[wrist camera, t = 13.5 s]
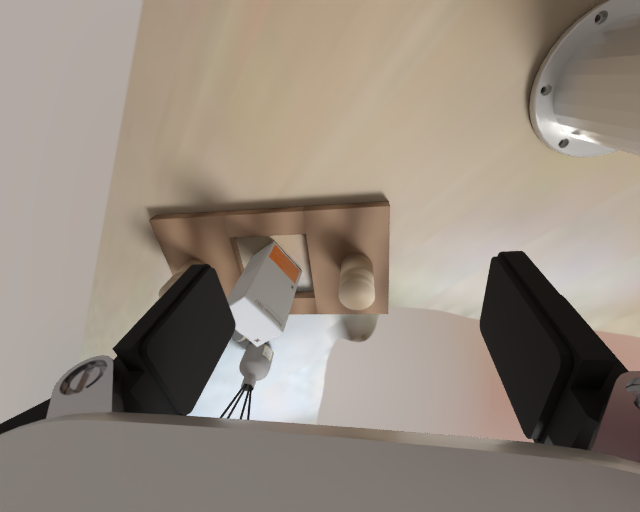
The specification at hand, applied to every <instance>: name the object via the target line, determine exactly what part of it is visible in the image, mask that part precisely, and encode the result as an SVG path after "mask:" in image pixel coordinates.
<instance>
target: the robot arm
mask: <svg viewBox="0 0 640 512" xmlns="http://www.w3.org/2000/svg"><path fill="white" fill-rule="evenodd" d="M595 17H597V19H596V21H595ZM542 87H543V88H544V89H543V91H542V92H541V89H542ZM529 110H530V119H531V123H532V126H533V129H534V131H535V133H536V135H537V136H538V137H539V139H540V140H541V141H542V142H543V143H544V144H545V145H546V146H548V147H549V148H551V149H553V150H555V151H557V152H559V153H562V154H565V155H568V156H574V157H595V156H600V155H605V154H609V153H612V152H615V151H618V150H620V151H624V152H627V153H631V154H634V155H638V156H640V0H607V1H605V2H603V3H601V4H600V5H598V6H596V7H594V8H593V9H592V10H590V11H589V12H587V13H586V14H585V15H583V16H582V17H581V18H579V19H578V20H577V21H576V22H575V23H574V24H573V25H572V26H571V27H569V28H568V29H567V30H566V31H565V32H564V33H563V34H562V36H561V37H560V38H559V39H558V41H557V42H556V43H555V44H554V45H553V47H552V48H551V49H550V51H549V53H548V54H547V56H546V57H545V59H544V61H543V62H542V64H541V66H540V68H539V71H538V73H537V75H536V77H535V80H534V83H533V87H532V91H531V95H530V106H529ZM560 141H561V142H560ZM559 142H560V143H559ZM235 327H236V323H235V319H234V317H233V314H232V312H231V309H230V306H229V304H228V301H227V298H226V296H225V293H224V291H223V288H222V285H221V283H220V280H219V278H218V275H217V272H216V270H215V269H214V268H212V267H211V266H210V265H209V264H194V265H191V266H190V267H189V268H188V269H187V270H186V271H185V272H184V273H183V274H182V275H181V276H180V278H179V279H178V280H177V281H176V282H175V283H174V284H173V285H172V286H171V287H170V288H169V289H168V290H167V291H166V292H165V293H164V295H163V296H162V297H161V298H160V299H159V300H158V301H157V302H156V303H155V304H154V305H153V306H152V307H151V308H150V309H149V311H148V312H147V313H146V314H145V315H144V316H143V317H142V318H141V319H140V320H139V321H138V322H137V323H136V324H135V325H134V326H133V328H132V329H131V330H130V331H129V332H128V333H127V334H126V335H125V336H124V337H123V338H122V339H121V340H120V341H119V342H118V344H117V345H116V346H115V347H114V348H113V350H114V351H115V353H116V354H117V357H116V358H115V359H114V360H113V359H112V358H110V357H109V356H103V355H102V356H96V357H93V358H90V359H87V360H85V361H83V362H81V363H79V364H77V365H76V366H74V367H73V368H72V369H70V370H69V371H68V372H66V373H65V374H64V375H63V376H62V377H61V378H60V380H59V381H58V382H57V383H56V385H55V387H54V389H53V392H52V396H51V398H50V399H48V400H47V401H45V402H43V403H41V404H39V405H37V406H35V407H33V408H31V409H29V410H27V411H25V412H23V413H21V414H19V415H17V416H15V417H13V418H11V419H9V420H7V421H5V422H3V423H2V424H0V512H640V371H628V370H627V369H626V368H625V367H624V365H623V364H622V363H621V362H620V361H619V360H618V359H617V358H616V357H615V355H614V354H613V353H612V352H611V350H610V349H609V348H608V347H607V346H606V345H605V343H604V342H603V341H602V340H601V339H600V338H599V337H598V335H597V334H596V333H595V332H594V331H593V330H592V328H591V327H590V326H589V325H588V324H587V323H586V322H585V320H584V319H583V318H582V317H581V316H580V315H579V313H578V312H577V311H576V310H575V309H574V308H573V307H572V305H571V304H570V303H569V302H568V301H567V300H566V299H565V298H564V297H563V296H562V295H560V294H559V293H558V291H557V290H556V289H555V288H554V287H553V286H552V284H551V283H550V282H549V281H548V280H547V279H546V277H545V276H544V275H543V274H542V273H541V272H540V270H539V269H538V268H537V267H536V266H535V265H534V263H533V262H532V261H531V260H530V259H529V258H528V256H527V255H526V254H525V253H524V252H523V251H509V252H500V253H499V254H498V257H493V258H492V259H491V264H490V269H489V275H488V280H487V285H486V291H485V296H484V302H483V307H482V313H481V318H480V330H481V334H482V336H483V338H484V341H485V343H486V345H487V348H488V350H489V352H490V355H491V357H492V359H493V362H494V364H495V366H496V369H497V371H498V374H499V376H500V378H501V381H502V383H503V385H504V388H505V390H506V392H507V395H508V397H509V399H510V402H511V404H512V406H513V409H514V411H515V414H516V416H517V418H518V421H519V423H520V425H521V428H522V430H523V432H524V434H525V436H526V437H527V438H528V439H533V440H534V442H535V443H531V442H520V441H510V440H499V439H488V438H478V437H467V436H455V435H442V434H430V433H416V432H404V431H391V430H378V429H365V428H352V427H338V426H324V425H311V424H297V423H283V422H269V421H255V420H241V419H226V418H211V417H196V416H186V415H187V414H189V413H190V412H191V411H192V410H193V408H194V406H195V404H196V403H197V401H198V399H199V397H200V395H201V393H202V391H203V389H204V388H205V386H206V384H207V382H208V380H209V378H210V376H211V374H212V372H213V371H214V369H215V367H216V365H217V363H218V361H219V359H220V357H221V355H222V354H223V352H224V350H225V348H226V346H227V344H228V342H229V340H230V339H231V337H232V335H233V333H234V331H235Z"/></svg>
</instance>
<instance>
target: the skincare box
mask: <svg viewBox="0 0 640 512" xmlns="http://www.w3.org/2000/svg"><path fill="white" fill-rule="evenodd" d="M301 273H302V271H301V270H300V269H299V268H298V267H297V266H296V265H295V263H294V262H293V261H292V260H291V259H290V258H289V257H288V256H287V255H286V254H285V253H284V251H283V250H282V249H281V248H280V247H279V246H278V245H277V244H276V242H275V241H273V242H272V243H270V244H269V245H268V246H266V247H265V248H263V249H262V250H260V251H259V252H257V253H256V254H254V255H253V256H252V258H251V259H250V261H249V263H248V264H247V266H246V268H245V269H244V271H243V273H242V274H241V276H240V278H239V279H238V281H237V282H236V284H235V286H234V287H233V289H232V291H231V292H230V294H229V295H228V297H227V301H228V304H229V306H230V309H231V312H232V314H233V317H234V319H235V323H236V327H235V329H236V330H237V331H238V332H239V333H240V334H242V335H243V336H245V337H246V338H247V339H248V340H249V341H250V342H252V343H253V344H254V345H255V346H256V347H258V346H260V345H262V344H264V343H265V342H267V341H269V340H271V339H273V338H275V337H277V336H278V335H280V334H282V333H283V331H284V328H285V325H286V322H287V319H288V315H289V312H290V309H291V305H292V302H293V299H294V296H295V292H296V289H297V286H298V283H299V279H300V276H301Z"/></svg>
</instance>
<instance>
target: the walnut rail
mask: <svg viewBox="0 0 640 512" xmlns="http://www.w3.org/2000/svg"><path fill="white" fill-rule="evenodd" d="M149 221H150V223H151V226H152V228H153V230H154V233H155V235H156V237H157V239H158V242H159V244H160V246H161V249H162V251H163V253H164V255H165V258H166V260H167V262H168V265H169V267H170V269H171V272H172V274H173V276H172V277H171V278H170V280H169V281H168V282H167V283H166V284H165V285H164V286H163V287H162V288H161V289H160V291H159V297H160V298H161V297H162V296H163V295H164V293H165V292H166V291H167V290H168V289H169V288H170V287H171V286H172V285H173V284H174V283H175V282H176V281H177V280H178V279H179V278H180V276H181V275H182V274H183V273H184V272H185V271H186V270H187V269H188V268H189V267H190V266H191V265H194V264H209V265H210V266H211V267H212V268H214V269H215V270H216V272H217V275H218V278H219V280H220V283H221V285H222V288H223V291H224V293H225V296H226V298H227V297H228V295H229V294H230V292H231V291H232V289H233V287H234V286H235V284H236V282H237V281H238V279H239V278H240V276H241V274H242V273H243V271H244V268H243V265H242V261H241V258H240V254H239V251H238V247H237V244H236V240H235V237H251V236H273V235H295V234H306V238H307V245H308V252H309V259H310V266H311V272H312V279H313V286H314V291H306V292H295V296H294V299H293V302H292V305H291V309H290V312H289V314H388V291H389V224H390V205H389V201H385V202H369V203H352V204H336V205H319V206H303V207H286V208H269V209H253V210H236V211H220V212H203V213H186V214H170V215H156V216H154V217H153V218H151V219H150V220H149Z"/></svg>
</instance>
